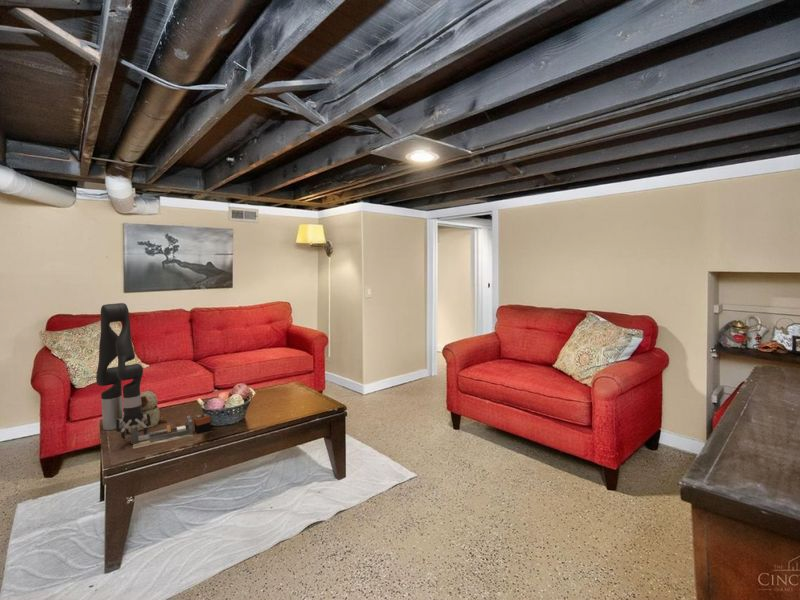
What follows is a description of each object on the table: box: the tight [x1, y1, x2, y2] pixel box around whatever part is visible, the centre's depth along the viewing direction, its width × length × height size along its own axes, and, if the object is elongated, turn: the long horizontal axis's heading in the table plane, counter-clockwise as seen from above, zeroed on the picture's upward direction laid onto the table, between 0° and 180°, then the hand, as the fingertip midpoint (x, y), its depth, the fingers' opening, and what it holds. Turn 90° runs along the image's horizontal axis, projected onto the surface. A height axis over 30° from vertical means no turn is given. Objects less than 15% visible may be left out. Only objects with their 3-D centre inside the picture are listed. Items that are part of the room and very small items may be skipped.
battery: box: [193, 413, 212, 435], centre depth 213 cm, size 4×7×10 cm, turn 139°
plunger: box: [130, 424, 172, 445], centre depth 203 cm, size 5×17×6 cm, turn 124°
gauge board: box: [132, 415, 194, 449], centre depth 206 cm, size 14×26×8 cm, turn 124°
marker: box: [176, 425, 186, 432], centre depth 210 cm, size 4×4×3 cm
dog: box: [124, 390, 168, 434], centre depth 221 cm, size 23×19×20 cm
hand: (134, 436), depth 199 cm, fingers open, 8 cm apart
